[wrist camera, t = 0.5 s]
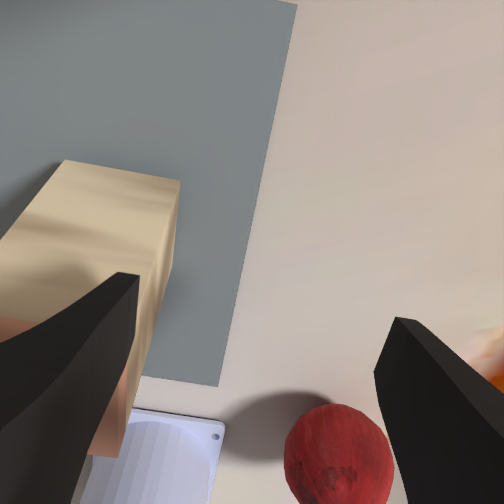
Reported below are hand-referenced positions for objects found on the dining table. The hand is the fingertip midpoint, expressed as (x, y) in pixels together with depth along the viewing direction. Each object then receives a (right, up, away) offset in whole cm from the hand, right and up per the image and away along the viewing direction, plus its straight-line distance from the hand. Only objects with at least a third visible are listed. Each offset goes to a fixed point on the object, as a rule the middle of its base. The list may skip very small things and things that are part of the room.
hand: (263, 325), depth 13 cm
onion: (+4, -8, +16) cm, 18 cm away
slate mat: (-10, +5, +9) cm, 15 cm away
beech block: (-6, +4, +9) cm, 11 cm away
